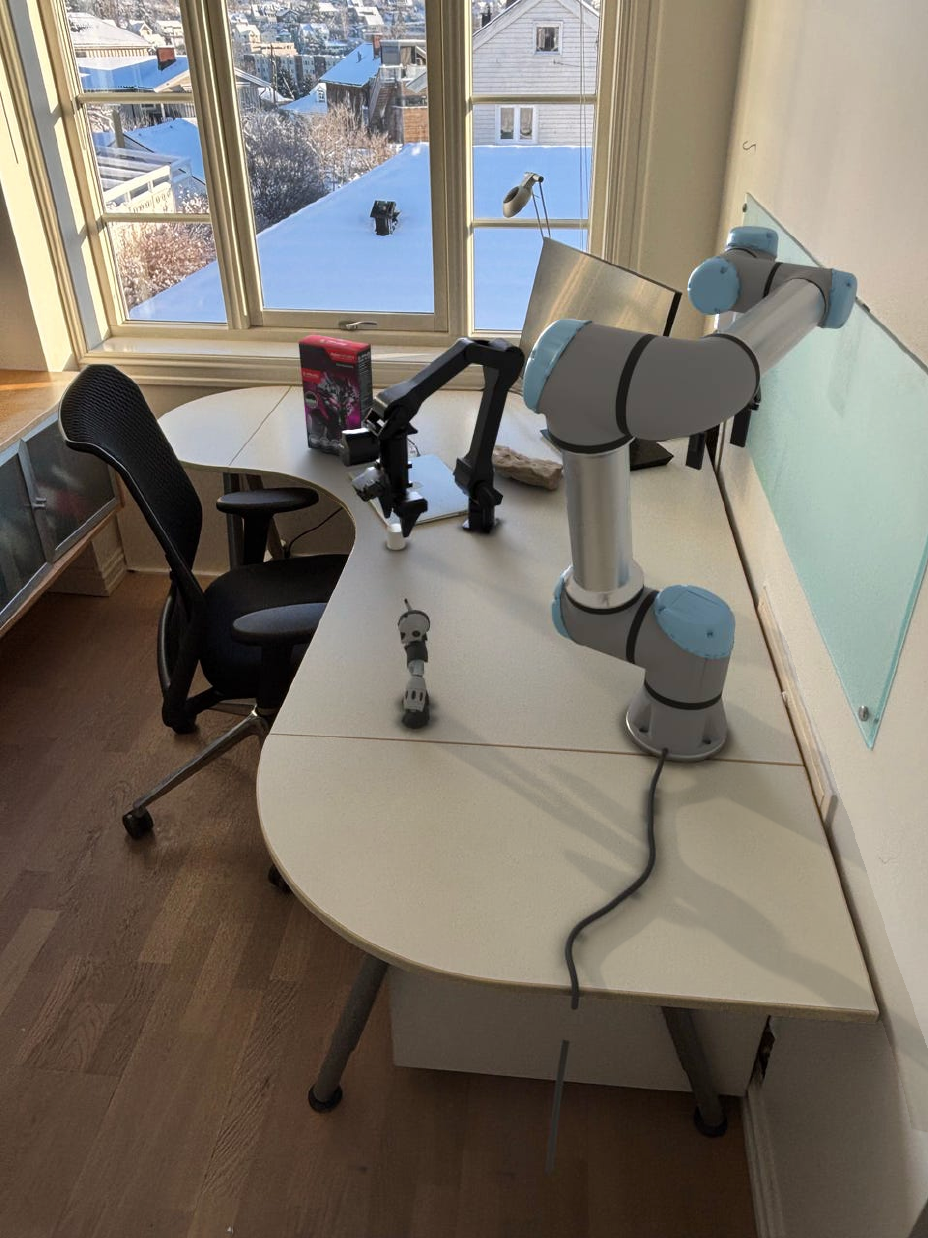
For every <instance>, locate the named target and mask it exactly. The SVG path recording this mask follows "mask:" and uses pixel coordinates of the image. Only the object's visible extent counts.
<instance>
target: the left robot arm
mask: <svg viewBox="0 0 928 1238" xmlns="http://www.w3.org/2000/svg"><path fill="white" fill-rule="evenodd" d="M472 364H474V365H479V366H482V373H483V379H484V388H483V391H482V396H481V400H480V402H479V407H478V412H477V416H476V421H475V424H474V429H473V433H472V438H471V442H470V446H469V449H468V452H467V453H466V454H465V455H464V456H463V457H460V456H457V458H456V460H455V468H454V470H453V472H452V475H453V476H454V483H455V485H456V487H457V488H458V489H460V490H461V492H462V494H464V495H465V496H467V519H466V521H464V522H463V523H462V525H461V528H462V529H464V530H469V531H475V532H479V533H484V534H491V533H492V532H493V531H494V529H495V528H496V527H497V525H498V524H499V523H500V522H501V519H500V518H497V517H496V515H495V514H496V507H498V506H501V505H502V502H503V500H504V495H503V494H502V493H501V492H500V491H499V490H497V489H496V488H495V487H494V481H495V470H494V468H493V463H492V455H493V451H494V447H495V445H496V442H497V438H498V434H499V430H500V426H501V422H502V418H503V414H504V410H505V407H506V402H507V398H508V394H509V392H510V389H511V388H512V387H513V386H514V384H516V382H517V381H518V380H519V378H520V375H521V374H522V371H523V369H524V366H525V364H526V355H525V353H524V350H523V349H522V348H521V347H519V346H517V345H516V344H514V343H512V342H510V341H508V340H507V339H505V338H502V337H496V338H493V339H491V340H489V339H483V338H468V337H460V338H458V339H457V340H456V341H455V342H454V344H453V345H452V346H451V347H449V348H448V349H447V350H445V351H444V352H443V353H441V354H440V355H439V356H438V357H437V358H435V359H434V360H433V361H431V362H430V363H428V364H427V365H426V366H425V367H423V368H422V369H421V370H420V371H418V372H417V373H416V374H414V375H413V376H412V377H411V378H408V379H407V380H405V381H402V382H399V383H396V384H392V385H391V386H388V387H387V388H385V389H383V390H381V391H379V392H378V393H377V394H376V395H375V396H374V397H373V406H372V408H371V410H370V411H369V413H368V415H367V416H366V418H365V420H364V421H363V423H362V424H363V426H364V427H365V428H363V429H358V430H347V431H343V432H342V438H341V439H340V443H339V445H338V446H339V454H340V455H339V458H340V460H341V462H342V465H343V466H344V467H345V468H351V467H357V466H361V465H368V464H371V463H373V464H374V465H373V466H371V467H367V468H366V469H365V471H363V473H362V474H360V475H358V476H357V477H355V478H353V479H352V480H351V481H350V483H351V485H352V488H353V490H354V491H355V494H356V496H357V497H358V498H359V499H360V500H361V501H362V502H363V503H367V502H369V501H374V500H375V499H377V500H378V503H379V507H380V510H381V511H382V515H383V518H384V519H385V520H387V519H390V518H391V515H392V513H393V514H394V515H395V516H396V517H397V518H398V520H399V524H400V525H401V531H402V535H403V537H404V538H405V539H406V538H409V537H410V534H411V533H412V531H413V529H414V527H415V525H416V523H417V521H418V519H419V518H420V517H421V514H424V513H427V512H428V511H429V501H428V500H427V499H426V498H425V497H424V496H423V495H421V493H419V492H418V491H416V490H415V491H411V492H409V491H408V489H412V488H413V487H414V485H413V484H414V482H413V481H411V479H410V473H409V471H410V469H413V463H412V462H411V461H410V460H409V439H408V438H409V436H412V435H417V434H418V433H419V430H418V429H417V428H416V427H414V426H413V425H412V423H411V421H412V420H413V419H414V418H415V417H416V415H418V414H419V411H420V409H421V407H422V405H423V403H425V401H426V400H427V399H429V398H430V397H431V396H432V395H434V394H435V393H436V392H438V390H440V389H441V388H442V387H444V386H445V385H446V384H448V383H449V382H450V381H451V380H453V379H454V378H456V377H457V376H458V375H459V374H461V373H462V372H463V371H465V369H467V368H468V367H469V366H471V365H472ZM379 421H381V422H383V425H381V424H380V423H379Z"/></svg>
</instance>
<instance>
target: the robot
mask: <svg viewBox="0 0 928 1238" xmlns="http://www.w3.org/2000/svg"><path fill="white" fill-rule="evenodd" d="M403 602H404V604H405V607H406V610H407V611H406V612H404V613H403V614H402V615H400V616H399V617H398V621H397V623H396V624H397V625H396V626H397V627H398V629H397V630H398V631H399V635H400V644H401V645H403V649H404V652H405V654H406V669H408V671H409V674H410V677H409V678H408V679H407V680H408V681H407V682H406V685H405V689H404V696H403V697H402V700H401V705H402V706H403V708H404V713H403V716H402V718H401V723H402V725H404V726H405V727H406V728H410V729H419V728H421V727H424V726H426V725H428V724H429V722H430V719H431V717H430V716H431V715H430V709H429V706H430V695H429V692H428V689H427V683H426V678H425V677H424V674H425V664H427V663H429V650H428V648H427V641H429V640H428V639H429V638H428V634H427V633H428V632H430V629H431V620H430V617H429V615H428V614H427V613H426V612H424V611H422V610H419V609H413V608H412V606H411V604H410V602H409V600H408V599H407V598H404V600H403Z"/></svg>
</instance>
